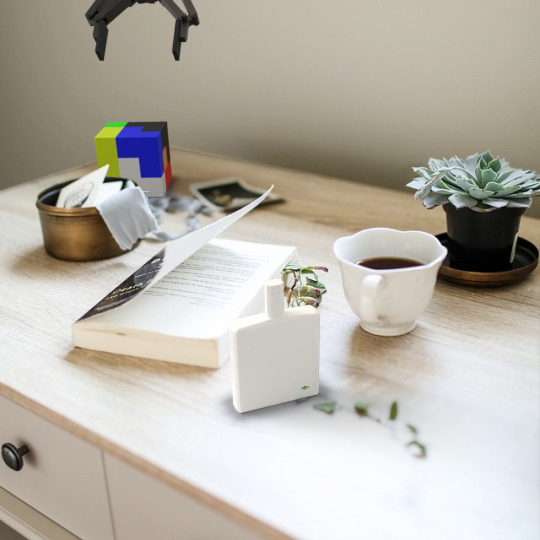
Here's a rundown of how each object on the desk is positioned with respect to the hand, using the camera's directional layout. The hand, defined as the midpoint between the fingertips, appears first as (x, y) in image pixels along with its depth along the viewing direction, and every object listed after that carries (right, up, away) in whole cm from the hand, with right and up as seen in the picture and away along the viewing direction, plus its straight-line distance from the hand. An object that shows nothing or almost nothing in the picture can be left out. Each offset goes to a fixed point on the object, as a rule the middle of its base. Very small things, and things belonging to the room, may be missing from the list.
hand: (137, 56), depth 117 cm
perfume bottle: (+24, -49, -55) cm, 78 cm away
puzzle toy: (+1, -23, -2) cm, 23 cm away
